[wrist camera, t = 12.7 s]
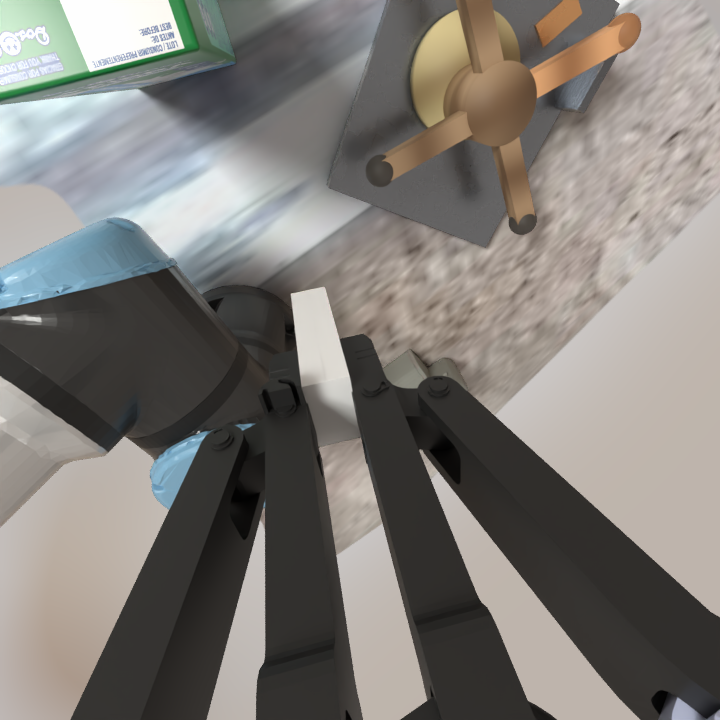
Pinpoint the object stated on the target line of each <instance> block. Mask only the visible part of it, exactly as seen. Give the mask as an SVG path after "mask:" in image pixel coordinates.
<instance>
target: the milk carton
mask: <svg viewBox="0 0 720 720" xmlns="http://www.w3.org/2000/svg"><path fill="white" fill-rule="evenodd" d="M233 64H236V59H235V56H234V52H233V49H232V46H231V43H230V40H229V36H228V33H227V30H226V27H225V24H224V20H223V17H222V14H221V11H220V8H219V4H218V1H217V0H0V105H2V104H11V103H20V102H28V101H37V100H45V99H54V98H63V97H71V96H80V95H89V94H97V93H106V92H114V91H123V90H132V89H139V88H143V87H147V86H151V85H155V84H159V83H163V82H167V81H171V80H175V79H179V78H182V77H186V76H190V75H194V74H198V73H202V72H206V71H210V70H214V69H218V68H222V67H226V66H230V65H233Z"/></svg>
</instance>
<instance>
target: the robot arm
mask: <svg viewBox="0 0 720 720" xmlns="http://www.w3.org/2000/svg"><path fill="white" fill-rule="evenodd" d="M176 264H177V262H176V261H175V260H174V259H173V258H169V257H168V256H167V255H166V254H165V253H164V252H163V251H162V249H161V248H160V247H159V246H158V245H157V244H156V243H155V242H154V241H153V240H152V239H151V238H150V237H149V235H148V234H147V233H146V232H145V231H144V230H143V229H142V228H141V227H140V226H138V225H137V224H136V223H134V222H132V221H130V220H127V219H123V218H107V219H104V220H101V221H99V222H96V223H94V224H92V225H90V226H87V227H85V228H83V229H81V230H79V231H77V232H74V233H72V234H70V235H68V236H66V237H64V238H62V239H60V240H58V241H55V242H53V243H51V244H49V245H47V246H45V247H43V248H41V249H39V250H37V251H35V252H32V253H30V254H28V255H26V256H24V257H22V258H20V259H18V260H16V261H14V262H11V263H10V264H8V265H6V266H3V267H1V268H0V527H1V526H2V525H3V524H4V523H5V522H6V521H7V520H8V519H9V518H10V517H11V516H12V515H13V514H14V513H15V512H16V511H18V509H20V507H22V505H23V504H24V503H26V502H27V501H28V499H30V498H31V497H32V496H33V494H35V493H36V492H37V491H38V490H39V489H40V488H41V487H42V486H43V485H44V484H45V483H46V482H47V481H48V480H49V479H50V478H51V477H52V476H53V475H54V474H55V473H56V471H58V470H59V469H60V468H61V467H62V466H63V465H64V464H67V463H69V462H72V461H76V460H83V459H89V458H95V457H102V456H105V455H106V454H107V453H108V452H109V451H110V450H111V449H112V448H113V447H114V446H115V445H116V444H117V443H118V442H119V441H120V440H121V439H122V438H123V437H124V436H125V437H127V438H128V439H130V440H131V441H132V442H134V443H135V444H136V445H137V446H139V447H140V448H141V449H143V450H144V451H145V452H146V453H148V454H149V455H151V457H153V459H154V460H155V461H154V463H153V466H152V469H151V470H150V478H151V480H152V491H153V494H154V496H155V497H156V499H157V500H158V501H159V502H160V503H161V504H162V505H163V506H165V507H166V508H167V509H169V512H168V514H167V516H166V518H165V520H164V522H163V525H162V527H161V529H160V531H159V533H158V535H157V537H156V539H155V542H154V544H153V546H152V548H151V550H150V552H149V554H148V557H147V559H146V561H145V563H144V565H143V567H142V569H141V572H140V573H139V575H138V578H137V580H136V582H135V584H134V586H133V588H132V590H131V593H130V595H129V597H128V599H127V601H126V603H125V605H124V607H123V609H122V612H121V614H120V616H119V618H118V620H117V622H116V624H115V627H114V629H113V631H112V633H111V635H110V637H109V639H108V641H107V644H106V646H105V648H104V650H103V652H102V654H101V656H100V658H99V660H98V663H97V665H96V667H95V669H94V671H93V673H92V675H91V677H90V680H89V682H88V684H87V686H86V688H85V690H84V692H83V694H82V697H81V699H80V701H79V703H78V705H77V707H76V709H75V711H74V713H73V716H72V718H71V720H206V719H207V715H208V712H209V708H210V704H211V700H212V696H213V693H214V689H215V685H216V681H217V678H218V674H219V670H220V667H221V663H222V659H223V655H224V652H225V648H226V644H227V640H228V637H229V633H230V629H231V625H232V622H233V618H234V614H235V610H236V607H237V603H238V599H239V596H240V592H241V588H242V584H243V580H244V577H245V573H246V569H247V566H248V562H249V558H250V554H251V551H252V547H253V543H254V539H255V536H256V532H257V528H258V525H259V521H260V517H261V513H262V510H263V508H265V622H266V623H265V624H266V625H265V630H266V631H265V633H266V637H265V638H266V640H265V641H266V648H265V649H266V650H265V660H264V664H263V665H262V667H261V668H260V670H259V674H258V680H257V693H256V694H257V695H256V720H363V717H362V713H361V707H360V703H359V698H358V694H357V689H356V684H355V678H354V671H353V664H352V658H351V651H350V644H349V638H348V632H347V624H346V618H345V611H344V604H343V598H342V591H341V584H340V578H339V571H338V564H337V557H336V551H335V544H334V537H333V531H332V524H331V517H330V511H329V504H328V497H327V491H326V484H325V477H324V471H323V464H322V458H321V455H320V451H319V447H322V446H326V445H330V444H335V443H339V442H343V441H347V440H351V439H355V438H360V437H361V438H362V443H363V448H364V454H365V459H366V464H368V468H369V472H370V476H371V480H372V484H373V487H374V491H375V495H376V499H377V503H378V507H379V511H380V515H381V518H382V522H383V526H384V530H385V534H386V537H387V542H388V545H389V549H390V553H391V557H392V561H393V565H394V569H395V573H396V577H397V581H398V584H399V588H400V592H401V596H402V600H403V604H404V607H405V612H406V616H407V619H408V623H409V627H410V631H411V635H412V639H413V643H414V646H415V650H416V654H417V658H418V662H419V666H420V670H421V675H422V679H423V683H424V688H425V692H426V696H427V701H426V702H425V703H424V704H422V705H421V706H419V707H418V708H416V709H415V710H414V711H412V712H411V713H409V714H408V715H406V716H405V717H404V718H402V719H401V720H557V719H555V718H554V717H553V716H552V715H550V714H549V713H547V712H546V711H544V710H543V709H541V708H539V707H538V706H537V705H535V704H533V703H531V702H529V701H528V700H527V698H526V695H525V693H524V691H523V688H522V686H521V683H520V681H519V679H518V676H517V674H516V671H515V669H514V667H513V664H512V662H511V660H510V657H509V655H508V652H507V650H506V647H505V645H504V643H503V640H502V638H501V635H500V633H499V630H498V628H497V626H496V624H495V621H494V619H493V617H492V615H491V613H490V612H489V610H488V608H487V607H486V606H485V605H484V604H482V603H481V601H480V599H479V598H478V595H477V593H476V591H475V588H474V586H473V583H472V581H471V579H470V576H469V574H468V571H467V569H466V567H465V564H464V561H463V559H462V556H461V554H460V551H459V549H458V546H457V544H456V542H455V539H454V536H453V534H452V531H451V529H450V526H449V524H448V521H447V519H446V517H445V514H444V511H443V509H442V507H441V504H440V502H439V499H438V497H437V494H436V492H435V489H434V487H433V484H432V482H431V479H430V477H429V474H428V472H427V469H426V467H425V464H424V462H423V459H422V457H421V454H420V452H419V449H422V450H423V452H424V454H425V455H426V456H427V458H428V459H429V460H430V461H431V463H432V464H433V465H434V467H435V468H436V469H437V470H438V472H439V473H440V474H441V475H442V477H443V478H444V479H445V480H446V482H447V483H448V484H449V486H450V487H451V488H452V489H453V491H454V492H455V493H456V494H457V495H458V497H459V498H460V499H461V501H462V502H463V503H464V505H465V506H466V507H467V508H468V510H469V511H470V512H471V513H472V515H473V516H474V517H475V518H476V520H477V521H478V522H479V524H480V525H481V526H482V527H483V528H484V530H485V531H486V532H487V533H488V535H489V536H490V537H491V539H492V540H493V541H494V542H495V544H496V545H497V546H498V548H499V549H500V550H501V551H502V552H503V554H504V555H505V556H506V558H507V559H508V560H509V561H510V563H511V564H512V565H513V567H514V568H515V569H516V570H517V572H518V573H519V574H520V575H521V577H522V578H523V579H524V580H525V582H526V583H527V584H528V586H529V587H530V588H531V589H532V590H533V592H534V593H535V594H536V596H537V597H538V598H539V599H540V601H541V602H542V603H543V605H544V606H545V607H546V608H547V610H548V611H549V612H550V613H551V615H552V616H553V617H554V618H555V620H556V621H557V622H558V623H559V625H560V626H561V627H562V629H563V630H564V631H565V632H566V634H567V635H568V636H569V637H570V639H571V640H572V641H573V643H574V644H575V645H576V646H577V648H578V649H579V650H580V651H581V653H582V654H583V655H584V656H585V658H586V659H587V660H588V661H589V663H590V664H591V665H592V667H593V668H594V669H595V670H596V672H597V673H598V674H599V675H600V676H601V678H603V680H604V681H605V682H606V683H607V685H608V686H609V687H610V688H611V689H612V690H613V692H614V693H615V694H616V695H617V696H618V697H619V699H620V700H622V701H623V703H625V705H626V706H627V707H628V708H629V709H631V711H632V712H633V713H634V714H635V715H636V716H637V717H639V719H640V720H720V617H718V616H716V615H715V614H713V613H711V612H710V611H709V610H708V609H706V607H704V606H703V605H702V604H701V603H700V602H699V601H698V600H697V599H696V598H695V597H694V596H692V595H691V594H690V593H689V592H688V591H687V590H686V589H685V588H684V587H683V586H681V585H680V584H679V583H678V582H677V581H676V580H675V579H674V578H673V577H671V576H670V575H669V574H668V573H667V572H666V571H665V570H664V569H663V568H662V567H660V566H659V565H658V564H657V563H656V562H655V561H654V560H653V559H652V558H650V557H649V556H648V555H647V554H646V553H645V552H644V551H643V550H642V549H641V548H639V547H638V546H637V545H636V544H635V543H634V542H633V541H632V540H631V539H630V538H629V537H627V536H626V535H625V534H624V533H623V532H622V531H621V530H620V529H619V528H617V527H616V526H615V525H614V524H613V523H612V522H611V521H610V520H609V519H607V517H605V516H604V515H603V514H602V513H601V512H600V511H599V510H598V509H597V508H595V507H594V506H593V505H592V504H591V503H590V502H589V501H588V500H587V499H585V498H584V497H583V496H582V495H581V494H580V493H579V492H578V491H577V490H576V489H575V488H573V487H572V486H571V485H570V484H569V483H568V482H567V481H566V480H565V479H564V478H562V477H561V476H560V475H559V474H558V473H557V472H556V471H555V470H554V469H553V468H551V467H550V466H549V465H548V464H547V463H546V462H544V460H543V459H542V458H540V457H539V456H538V455H537V454H536V453H535V452H534V451H533V450H532V449H530V448H529V447H528V446H527V445H526V444H525V443H524V442H523V441H522V440H520V439H519V438H518V437H517V436H516V435H515V434H514V433H513V432H512V431H511V430H510V429H508V428H507V427H506V426H505V425H504V424H503V423H502V422H501V421H500V420H498V419H497V418H496V417H495V416H494V415H493V414H492V413H491V412H490V411H489V410H488V409H486V408H485V407H484V406H483V405H482V404H481V403H480V402H479V401H478V400H477V399H475V398H474V397H473V396H472V395H471V394H470V393H469V392H468V391H467V390H465V389H464V388H463V387H462V386H461V385H460V384H459V383H458V382H457V381H455V380H454V379H452V378H450V377H446V376H432V377H428V378H426V379H424V380H423V381H421V383H420V384H419V385H418V388H401V387H397V386H395V385H393V384H391V382H390V381H389V380H387V378H386V376H385V373H384V371H383V368H382V366H381V363H380V361H379V358H378V356H377V353H376V351H375V349H374V346H373V343H372V341H371V339H369V338H368V337H367V336H365V335H364V334H360V335H356V336H351V337H347V338H342V339H339V336H338V333H337V329H336V325H335V322H334V318H333V315H332V311H331V307H330V304H329V300H328V297H327V293H326V289H325V287H320V288H315V289H311V290H306V291H301V292H296V293H292V294H291V299H292V308H293V311H292V310H291V309H290V308H289V306H288V305H287V304H285V303H284V302H283V301H282V300H281V299H279V298H278V297H276V296H275V295H273V294H271V293H269V292H267V291H264V290H261V289H258V288H254V287H249V286H238V285H236V286H225V287H220V288H216V289H213V290H210V291H208V292H206V293H204V294H202V295H201V294H200V293H199V292H198V291H197V290H196V288H195V287H194V286H193V285H192V284H191V282H190V281H189V280H188V279H187V277H186V276H185V275H184V274H183V273H182V271H181V270H180V269H179V268H178V267H177V265H176ZM318 445H319V447H318Z"/></svg>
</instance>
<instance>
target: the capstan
mask: <svg viewBox="0 0 720 720" xmlns="http://www.w3.org/2000/svg"><path fill="white" fill-rule="evenodd" d="M456 4H457V8H458V10H455V11H452V12H450V13H448V14H446V15H445V16H443V17H442V18H440V19H439V20H438V21H437V22H436V23H435V24H434V25H432V27H431V28H430V29H429V30H428V31H427V33H426V34H425V36H424V37H423V39H422V40H421V42H420V44H419V46H418V48H417V51H416V53H415V56H414V59H413V63H412V68H411V74H410V92H411V99H412V102H413V106H414V109H415V111H416V114H417V115H418V117H419V119H420V120H421V122H422V123H423V124H424V125H425V126H426V127H427V128H428V129H426V130H424V131H422V132H421V133H419V134H417V135H415V136H414V137H412V138H410V139H409V140H407V141H405V142H403V143H402V144H400V145H398V146H396V147H395V148H393V149H391V150H389V151H388V152H386V153H384V154H381V155H376V156H374V157H372V158H371V159H370V160H369V161H368V163H367V165H366V177H367V179H368V181H369V182H370V183H371V184H372V185H373V186H376V187H385V186H387V185H389V184H390V183H391V182H392V180H393V179H395V178H397V177H399V176H400V175H402V174H404V173H406V172H407V171H409V170H411V169H413V168H415V167H416V166H418V165H420V164H422V163H423V162H425V161H427V160H429V159H430V158H432V157H434V156H436V155H438V154H439V153H441V152H443V151H445V150H446V149H448V148H450V147H452V146H453V145H455V144H457V143H459V142H461V141H464V140H472V141H475V142H478V143H481V144H484V145H488V146H491V147H492V151H493V156H494V160H495V164H496V168H497V172H498V176H499V180H500V184H501V188H502V192H503V196H504V201H505V205H506V209H507V213H508V217H509V227H510V229H511V230H512V231H513V232H514V233H516V234H519V235H523V234H527V233H529V232H530V231H532V230H533V228H534V227H535V225H536V222H537V216H536V214H535V212H534V208H533V203H532V198H531V193H530V188H529V183H528V178H527V173H526V168H525V163H524V158H523V153H522V148H521V143H520V138H519V135H520V134H521V133H522V132H523V131H524V129H525V128H526V127H527V125H528V124H529V122H530V120H531V118H532V116H533V113H534V110H535V106H536V100H537V98H539V97H540V96H542V95H544V94H546V93H547V92H549V91H551V90H553V89H554V88H556V87H558V86H560V85H562V84H563V83H565V82H567V81H569V80H570V79H572V78H574V77H576V76H577V75H579V74H581V73H583V72H585V71H586V70H588V69H590V68H592V67H593V66H595V65H597V64H599V63H600V62H602V61H604V60H606V59H608V58H609V57H611V56H613V55H615V54H618V53H622V52H625V51H626V50H628V49H629V48H631V47H632V46H633V45H634V43H635V42H636V41H637V39H638V37H639V35H640V31H641V22H640V19H639V18H638V16H637V15H635V14H633V13H624V14H621V15H619V16H617V17H616V18H614V19H613V20H612V21H611V22H610V23H609V25H607V26H605V27H604V28H602V29H600V30H598V31H597V32H595V33H593V34H591V35H590V36H588V37H586V38H584V39H583V40H581V41H579V42H577V43H576V44H574V45H572V46H570V47H569V48H567V49H565V50H563V51H562V52H560V53H558V54H557V55H555V56H553V57H551V58H550V59H548V60H546V61H544V62H543V63H541V64H539V65H537V66H536V67H534V68H532V69H530V70H529V69H528V68H527V67H526V66H525V65H523V64H522V63H521V62H520V49H519V45H518V41H517V38H516V35H515V33H514V31H513V29H512V27H511V26H510V24H509V23H508V22H507V20H506V19H505V18H504V17H503V16H502V15H501V14H499V13H498V12H496V11H495V10H494V9H493V4H492V0H456Z"/></svg>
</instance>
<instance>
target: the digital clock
mask: <svg viewBox="0 0 720 720" xmlns="http://www.w3.org/2000/svg"><path fill="white" fill-rule="evenodd" d="M383 371H384V373H385V376H386V378H387V380H389V381H390V382H391V384H393V385H395V386H397V387H401V388H418V385H419V384H420V383H421V381H423V380H424V379H426V378H428V377H432V376H446V377H450V378H452V379H454V380H455V381H457V382H458V383H459V384H460V385H461V386H462V387H463V388H464V389H465V390H467V391H468V387H467V385H466V383H465V381H464V379H463V377H462V375H461V374H460V372H459V370H458V368H457V366H456V365H455V363H454V362H453V361H452V360H450V359H447V358H442V359H440V360H439V361H437V362H436V363H434V364H433V365H431V366H430V367H428V368H427V367H426V366H425V365H424V364H423V363H422V361H421V360H420V359H419V358H418V357H417V356H416V355H415V354H414V352H413V351H412V350H411V349H409V350H408V351H406V352H405V353H404V354H402V355H401V356H400V357H398V358H397V359H396V360H394V361H393V362H392V363H390V364H389V365H387V366H386V367H385V368H383Z"/></svg>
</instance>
